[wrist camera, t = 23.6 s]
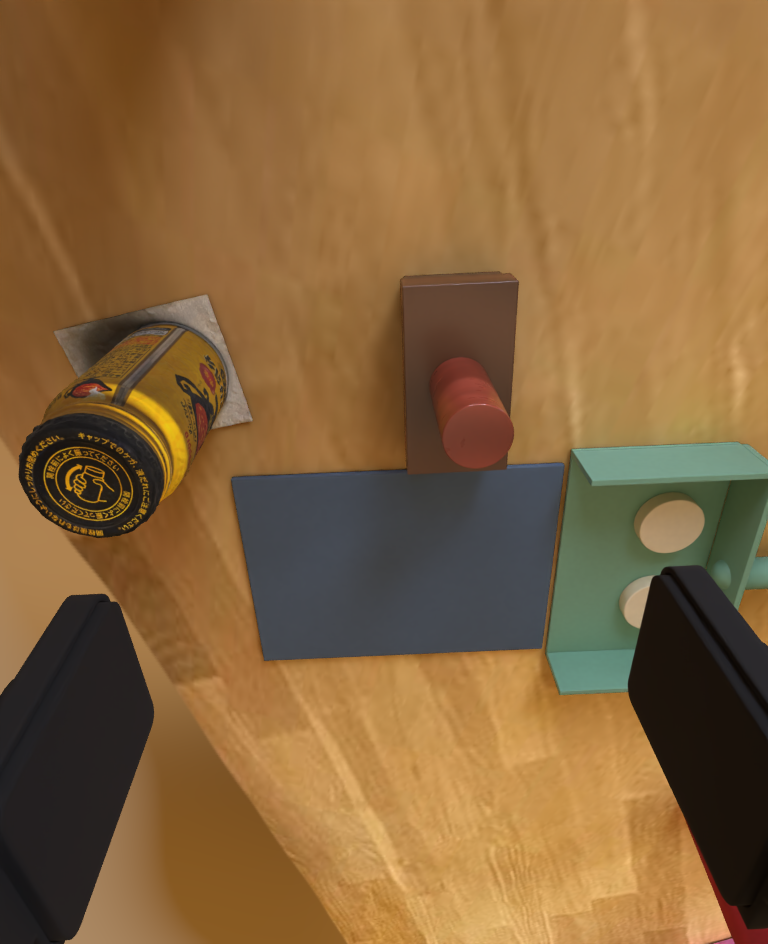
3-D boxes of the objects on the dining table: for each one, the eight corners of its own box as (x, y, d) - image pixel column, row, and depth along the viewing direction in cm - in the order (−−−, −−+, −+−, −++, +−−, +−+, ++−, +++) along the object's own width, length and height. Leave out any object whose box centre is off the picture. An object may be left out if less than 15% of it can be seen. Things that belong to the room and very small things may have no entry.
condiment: (253, 419, 34) (203, 541, 24) (115, 449, 35) (7, 581, 25) (208, 292, 31) (126, 371, 20) (55, 329, 32) (-100, 422, 21)
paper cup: (663, 827, 55) (748, 1024, 43) (673, 775, 51) (768, 974, 39) (749, 819, 55) (859, 1015, 43) (765, 766, 51) (891, 964, 39)
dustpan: (544, 653, 44) (559, 695, 41) (571, 448, 36) (592, 480, 33) (822, 641, 44) (859, 682, 41) (911, 434, 36) (966, 464, 33)
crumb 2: (638, 493, 37) (645, 501, 36) (703, 489, 37) (711, 498, 36) (629, 546, 39) (635, 555, 38) (690, 542, 39) (697, 551, 38)
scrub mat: (232, 476, 36) (230, 480, 36) (563, 462, 36) (564, 465, 36) (265, 656, 44) (264, 660, 43) (540, 644, 44) (541, 648, 43)
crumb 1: (622, 577, 40) (627, 586, 39) (681, 572, 40) (688, 582, 39) (615, 621, 42) (620, 631, 41) (672, 617, 42) (678, 627, 41)
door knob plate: (398, 272, 31) (410, 320, 22) (504, 267, 31) (554, 313, 22) (404, 446, 36) (415, 539, 27) (495, 442, 36) (533, 533, 27)
